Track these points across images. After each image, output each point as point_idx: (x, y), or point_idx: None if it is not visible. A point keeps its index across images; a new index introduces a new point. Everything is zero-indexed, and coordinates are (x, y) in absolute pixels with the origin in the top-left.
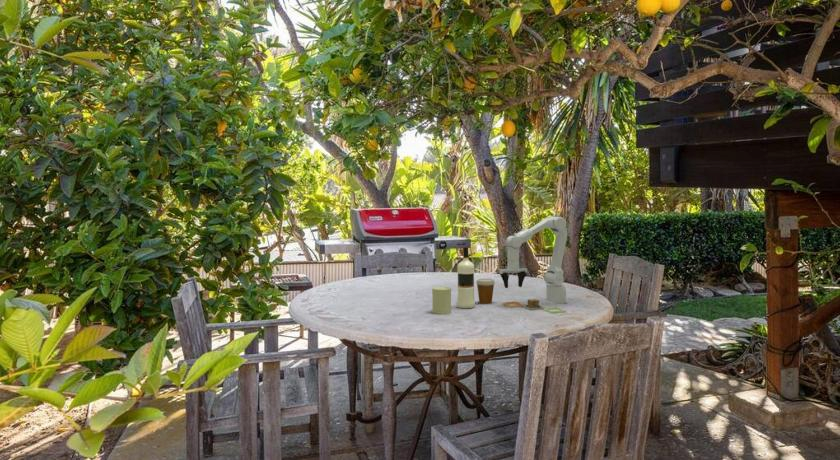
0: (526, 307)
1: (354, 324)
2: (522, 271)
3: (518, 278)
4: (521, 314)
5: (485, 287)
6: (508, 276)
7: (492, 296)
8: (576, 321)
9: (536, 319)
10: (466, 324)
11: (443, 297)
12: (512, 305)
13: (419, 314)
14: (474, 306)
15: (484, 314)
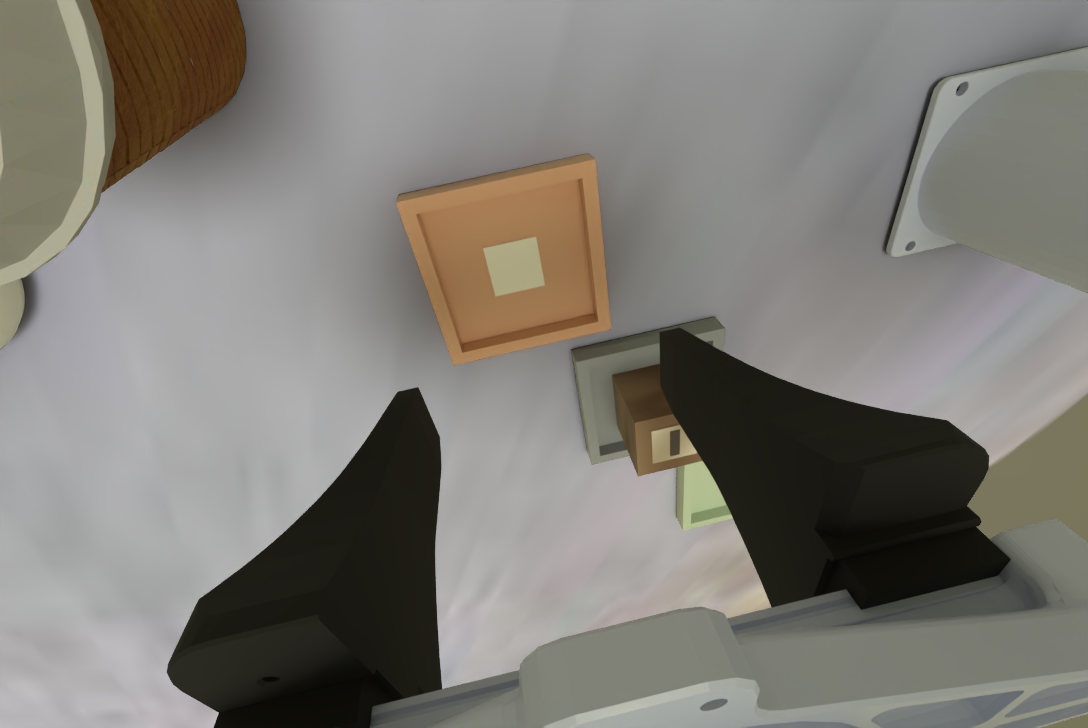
0: (585, 422)
1: None
2: (914, 617)
3: (737, 408)
4: (495, 519)
5: None
6: (432, 681)
7: (214, 66)
8: (703, 606)
9: (542, 594)
10: (134, 678)
11: None
12: (485, 357)
13: None
14: (24, 304)
15: (215, 523)
